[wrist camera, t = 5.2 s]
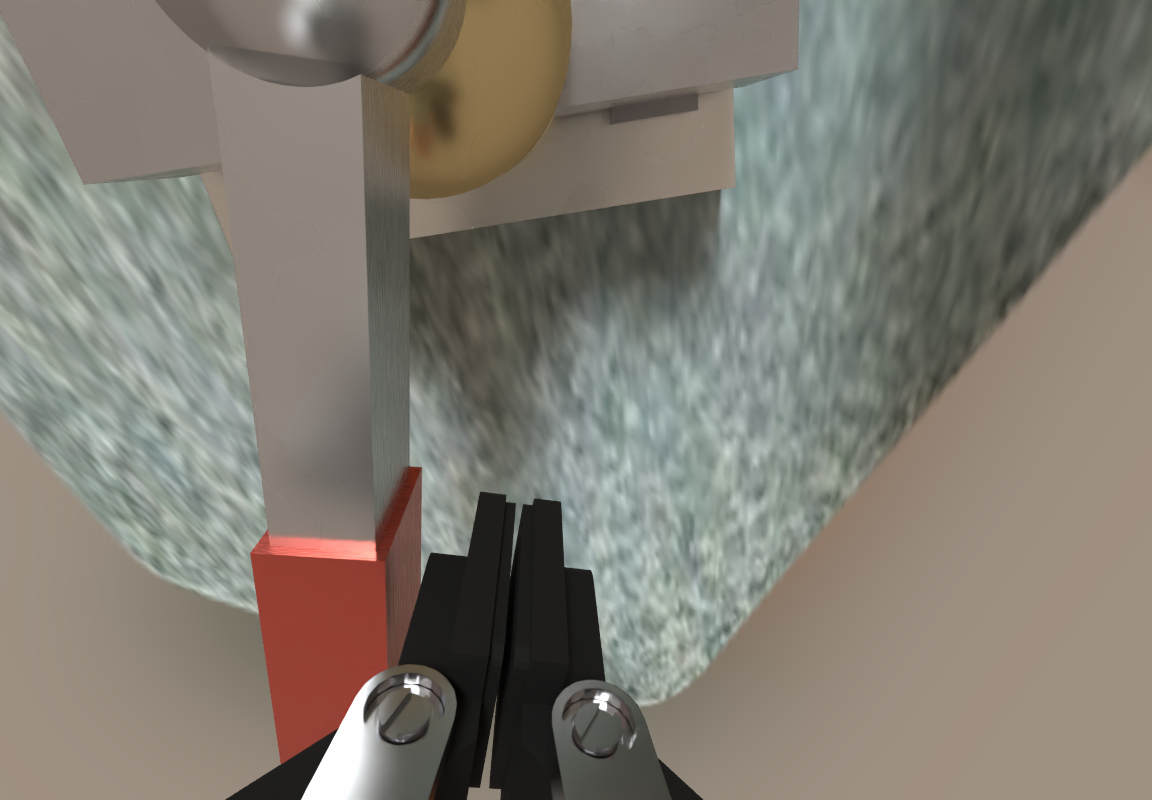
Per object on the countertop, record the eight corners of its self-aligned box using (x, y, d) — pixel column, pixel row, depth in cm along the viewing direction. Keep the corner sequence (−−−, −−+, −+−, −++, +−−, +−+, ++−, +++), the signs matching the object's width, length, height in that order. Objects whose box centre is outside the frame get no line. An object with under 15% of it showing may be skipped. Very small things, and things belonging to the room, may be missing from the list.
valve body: (709, -167, 15) (953, -640, 6) (721, 184, 19) (883, 216, 10) (135, -70, 15) (-456, -386, 6) (258, 257, 19) (0, 355, 10)
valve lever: (221, -198, 7) (36, -392, 4) (474, -150, 7) (436, -309, 5) (310, 681, 13) (255, 806, 11) (444, 687, 14) (421, 809, 11)
